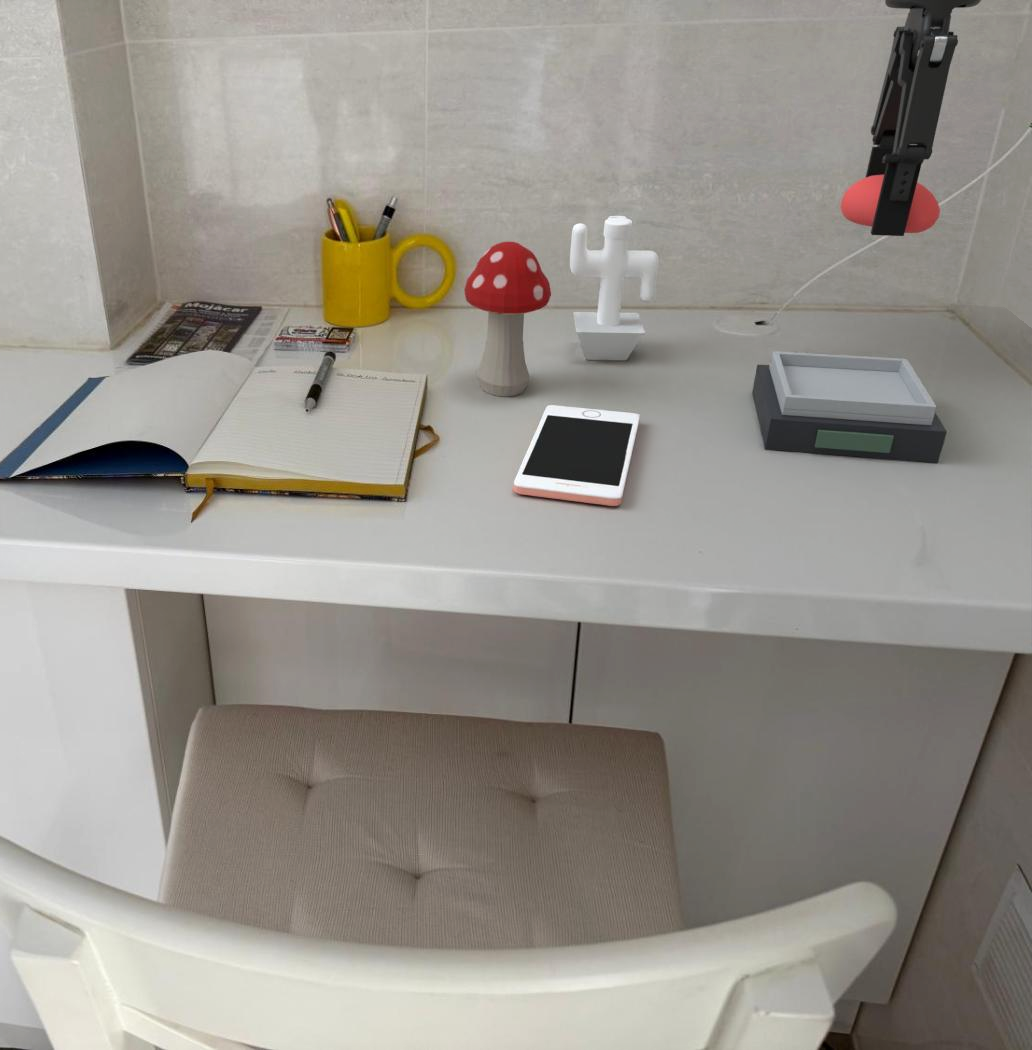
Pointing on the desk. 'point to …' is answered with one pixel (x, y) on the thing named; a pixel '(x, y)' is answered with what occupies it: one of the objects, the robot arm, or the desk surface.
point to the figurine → (611, 289)
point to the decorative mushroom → (506, 312)
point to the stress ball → (864, 201)
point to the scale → (846, 407)
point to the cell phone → (579, 455)
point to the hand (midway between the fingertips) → (879, 224)
